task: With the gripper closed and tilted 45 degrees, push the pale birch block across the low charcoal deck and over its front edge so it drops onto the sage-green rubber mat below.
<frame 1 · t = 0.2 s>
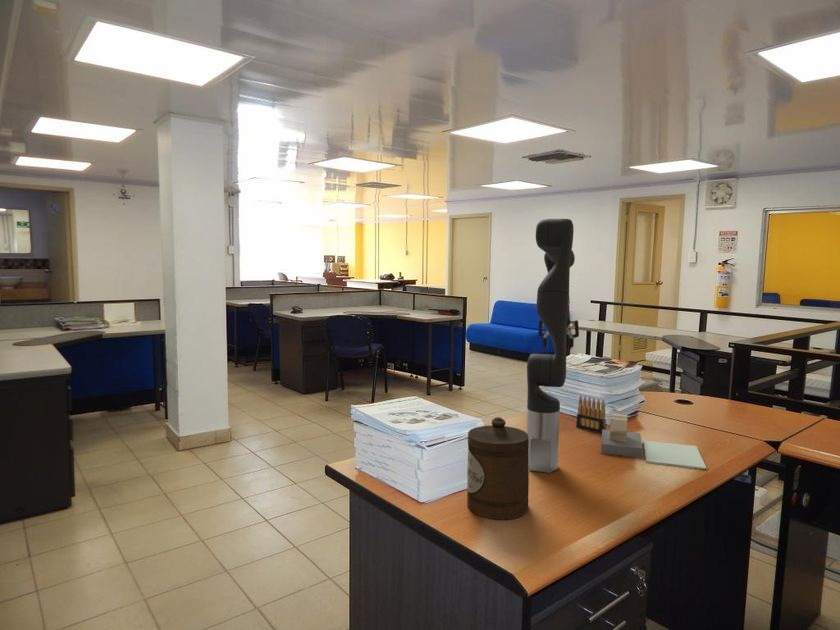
hand: (558, 348, 195), 29 cm above the table, tool pointing down, fingers open, 8 cm apart
ammunition clip: (590, 430, 192), on the table
wooden container: (497, 507, 131), on the table
deck: (620, 447, 173), on the table
mat: (672, 455, 166), on the table
birch block: (618, 437, 173), point 3 cm above the table, touching deck
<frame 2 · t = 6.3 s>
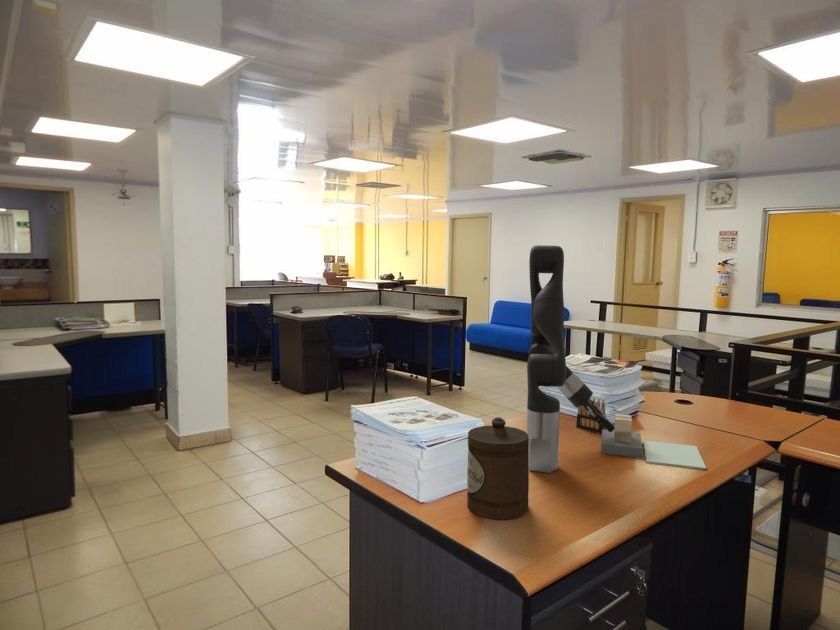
hand: (612, 429, 174), 5 cm above the table, tool tilted 45°, fingers closed
birch block: (622, 438, 173), point 3 cm above the table, touching deck
everything else where it was.
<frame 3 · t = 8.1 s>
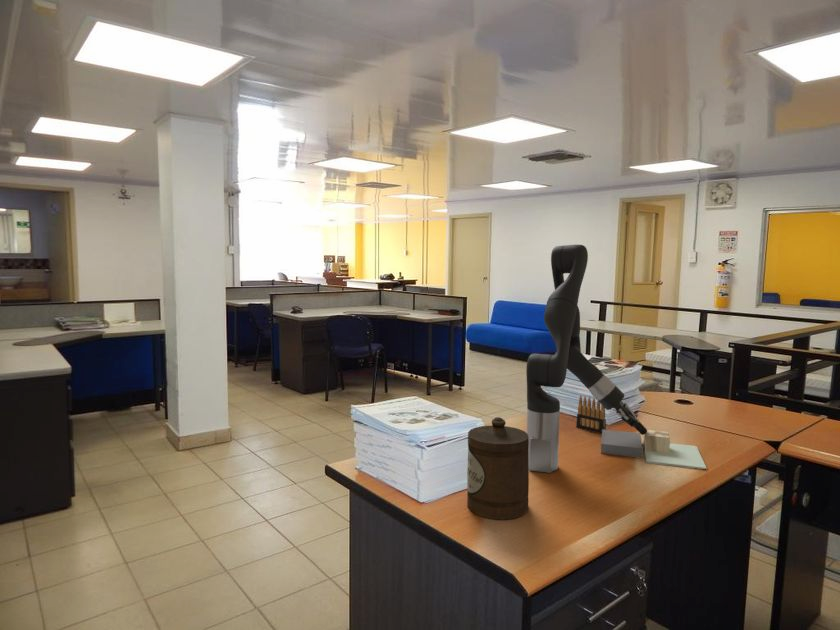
hand: (644, 432, 170), 6 cm above the table, tool tilted 45°, fingers closed
birch block: (644, 440, 171), point 3 cm above the table, tilted 90°, touching gripper, mat
everything else where it was.
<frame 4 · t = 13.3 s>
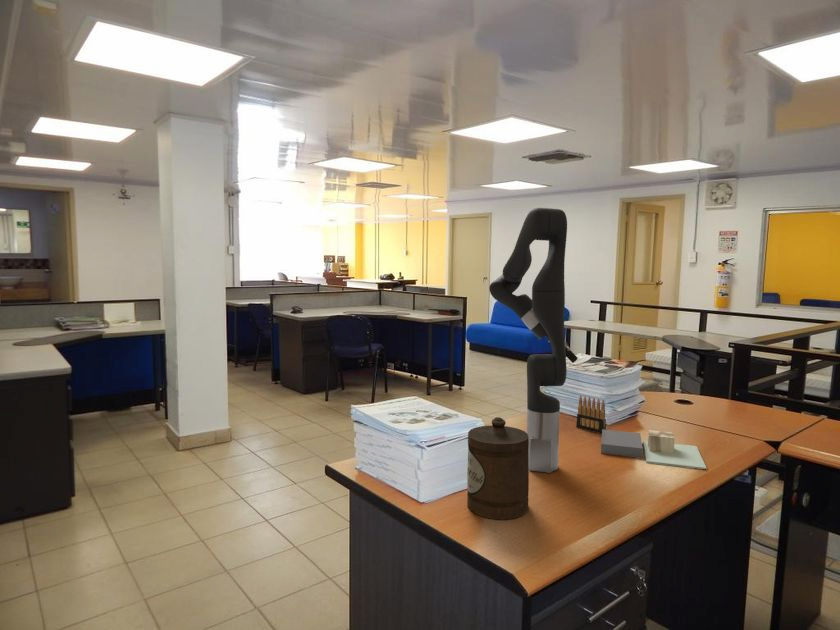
hand: (575, 360, 174), 28 cm above the table, tool tilted 45°, fingers closed
birch block: (649, 440, 171), point 3 cm above the table, tilted 90°, touching mat
everything else where it was.
at the end: birch block touching mat; birch block moved 9.3 cm from its start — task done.
